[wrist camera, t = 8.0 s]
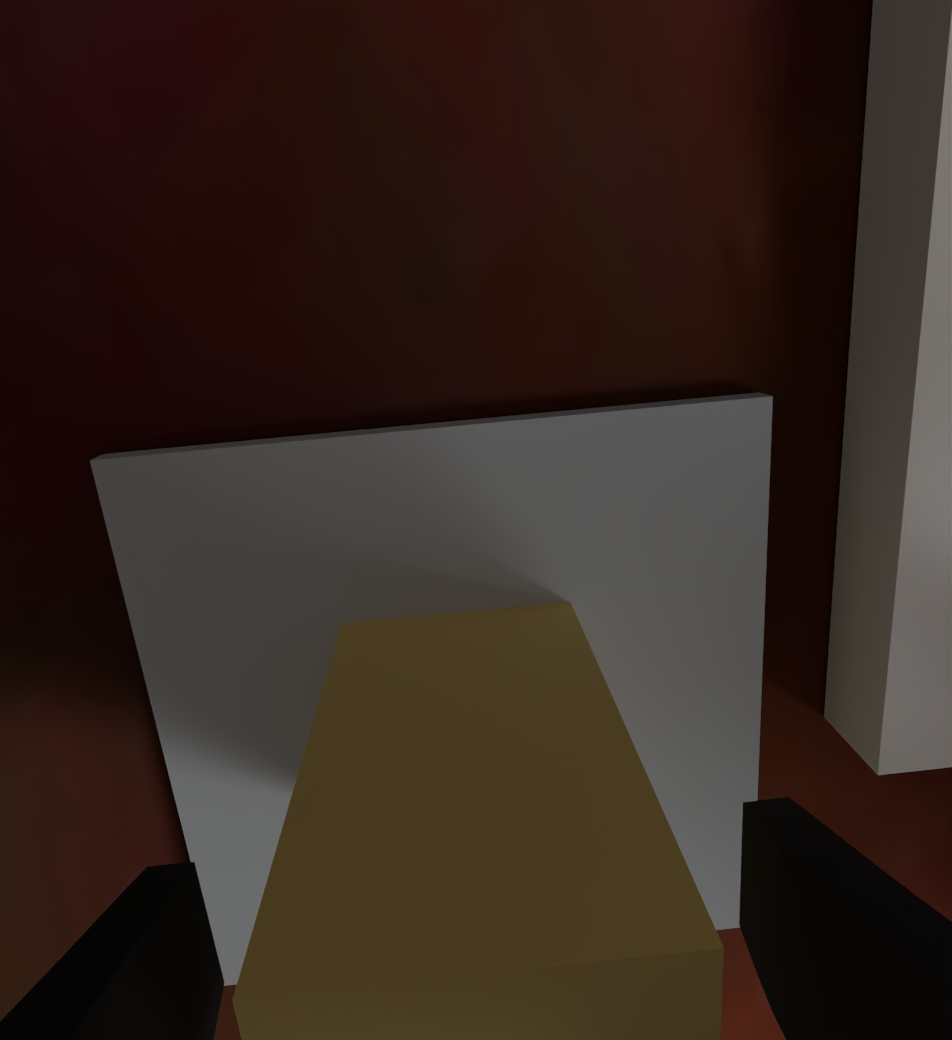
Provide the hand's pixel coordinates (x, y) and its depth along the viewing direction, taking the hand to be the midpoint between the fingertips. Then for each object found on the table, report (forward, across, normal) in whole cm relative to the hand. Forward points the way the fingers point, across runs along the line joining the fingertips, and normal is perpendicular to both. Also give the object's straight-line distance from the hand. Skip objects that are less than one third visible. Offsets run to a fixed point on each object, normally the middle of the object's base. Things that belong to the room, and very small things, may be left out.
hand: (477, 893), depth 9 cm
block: (+4, 0, 0) cm, 4 cm away
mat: (+4, 0, 0) cm, 4 cm away
